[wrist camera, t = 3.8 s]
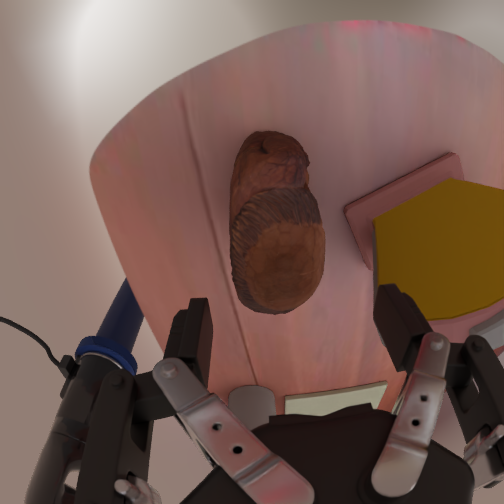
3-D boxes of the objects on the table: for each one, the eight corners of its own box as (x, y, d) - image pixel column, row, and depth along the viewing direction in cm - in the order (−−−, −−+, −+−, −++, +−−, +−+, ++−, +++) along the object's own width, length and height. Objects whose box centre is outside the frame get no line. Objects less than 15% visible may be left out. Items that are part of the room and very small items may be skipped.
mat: (284, 424, 56) (284, 428, 56) (285, 395, 51) (285, 400, 50) (372, 411, 56) (373, 414, 55) (386, 380, 50) (387, 384, 49)
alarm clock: (348, 275, 38) (412, 418, 19) (320, 217, 34) (397, 365, 15) (477, 203, 33) (583, 290, 14) (465, 143, 29) (599, 210, 10)
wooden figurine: (293, 229, 35) (329, 346, 19) (237, 231, 34) (232, 351, 19) (296, 126, 29) (357, 164, 13) (233, 126, 29) (218, 163, 13)
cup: (248, 379, 48) (249, 430, 39) (283, 394, 50) (288, 441, 42) (219, 399, 51) (217, 446, 42) (254, 413, 53) (255, 456, 45)
